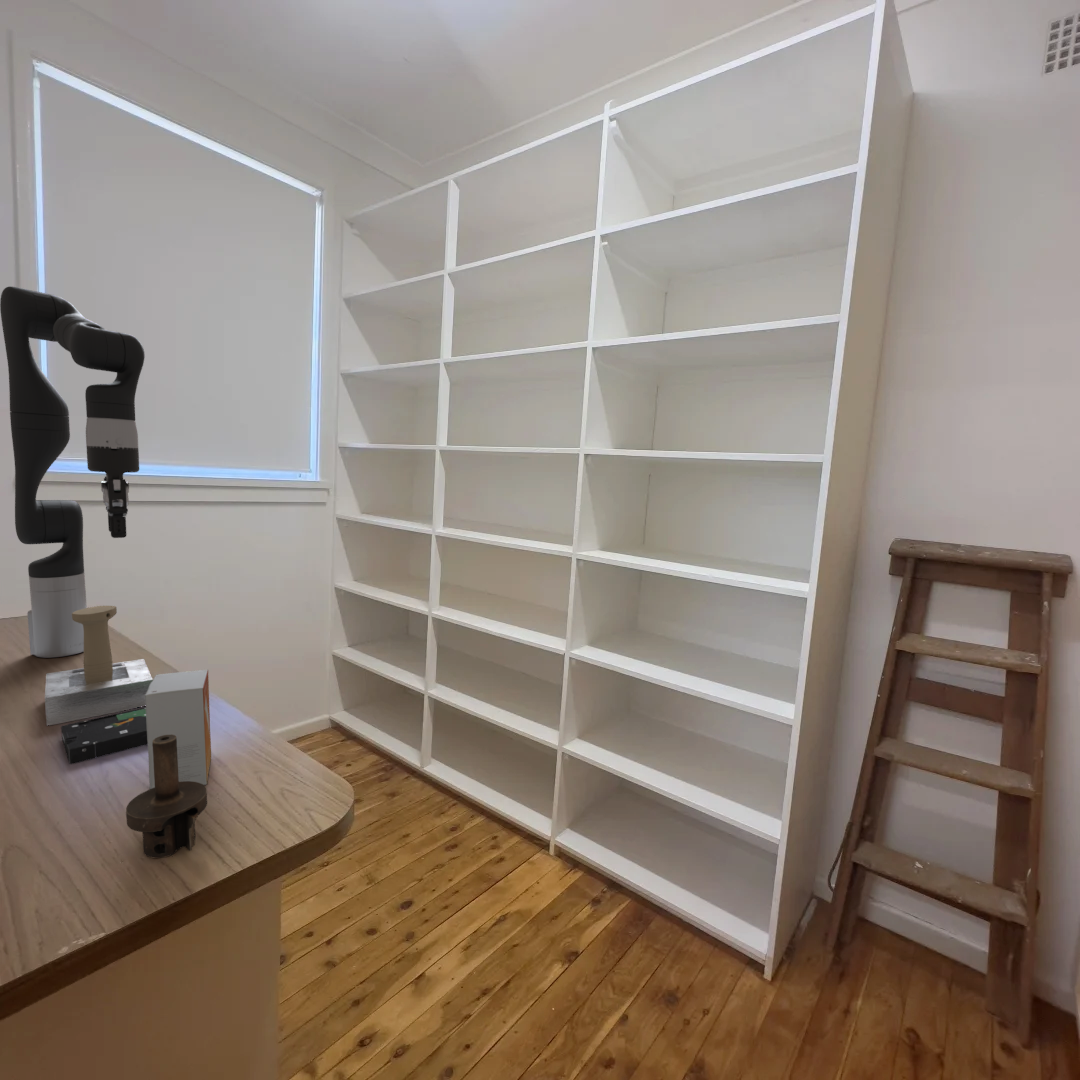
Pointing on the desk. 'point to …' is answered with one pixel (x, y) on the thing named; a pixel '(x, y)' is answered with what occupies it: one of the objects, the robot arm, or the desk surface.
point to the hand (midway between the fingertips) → (117, 534)
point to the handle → (96, 642)
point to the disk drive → (104, 735)
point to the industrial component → (167, 804)
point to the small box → (181, 721)
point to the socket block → (95, 692)
